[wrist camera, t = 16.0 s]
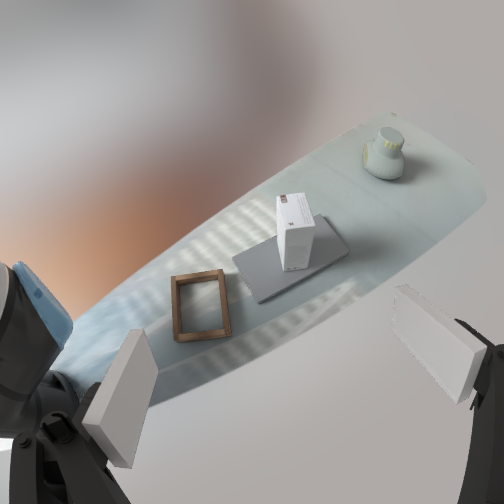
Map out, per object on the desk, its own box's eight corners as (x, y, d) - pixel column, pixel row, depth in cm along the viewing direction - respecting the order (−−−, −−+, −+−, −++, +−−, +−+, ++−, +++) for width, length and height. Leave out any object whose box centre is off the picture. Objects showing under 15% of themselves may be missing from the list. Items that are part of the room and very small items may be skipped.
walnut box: (177, 342, 43) (173, 339, 41) (174, 281, 48) (170, 276, 46) (231, 336, 43) (230, 333, 42) (224, 274, 48) (222, 268, 47)
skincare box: (308, 268, 47) (319, 227, 36) (281, 273, 47) (285, 232, 36) (300, 236, 50) (307, 190, 39) (274, 240, 50) (276, 194, 39)
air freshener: (398, 189, 56) (414, 156, 47) (363, 181, 57) (375, 146, 48) (393, 156, 61) (405, 124, 52) (361, 149, 62) (370, 116, 53)
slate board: (258, 304, 46) (258, 302, 45) (232, 260, 50) (231, 257, 49) (348, 253, 49) (349, 251, 48) (319, 217, 53) (320, 213, 52)
